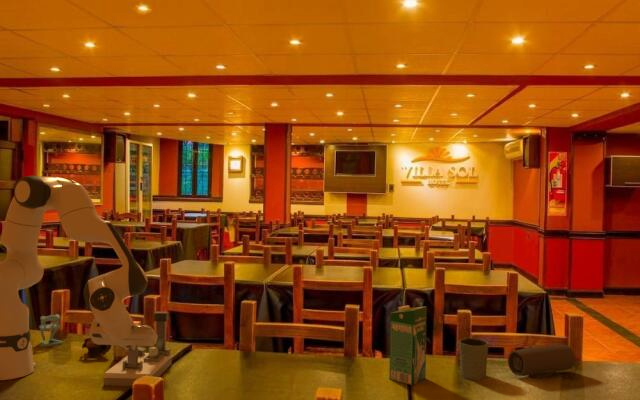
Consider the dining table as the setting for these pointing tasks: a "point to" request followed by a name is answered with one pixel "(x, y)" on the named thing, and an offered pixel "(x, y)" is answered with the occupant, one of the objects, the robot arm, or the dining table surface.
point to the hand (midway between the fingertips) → (130, 347)
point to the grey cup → (473, 358)
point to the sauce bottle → (120, 349)
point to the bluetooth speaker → (541, 360)
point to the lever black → (161, 331)
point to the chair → (48, 327)
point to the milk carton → (408, 344)
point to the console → (146, 367)
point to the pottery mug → (94, 349)
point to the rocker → (141, 350)
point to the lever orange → (133, 354)
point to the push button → (153, 352)
